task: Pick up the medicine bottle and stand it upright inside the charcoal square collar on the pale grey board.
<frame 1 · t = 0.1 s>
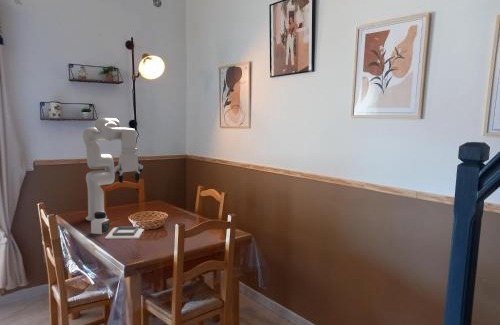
hand: (129, 181, 191), 31 cm above the table, tool pointing down, fingers open, 9 cm apart
medicine bottle: (100, 232, 199), on the table
holder board: (125, 233, 197), on the table
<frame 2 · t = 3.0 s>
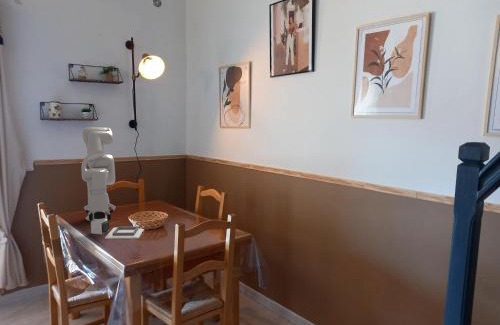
hand: (100, 220, 197), 7 cm above the table, tool pointing down, fingers open, 9 cm apart
medicine bottle: (100, 232, 199), on the table, touching gripper
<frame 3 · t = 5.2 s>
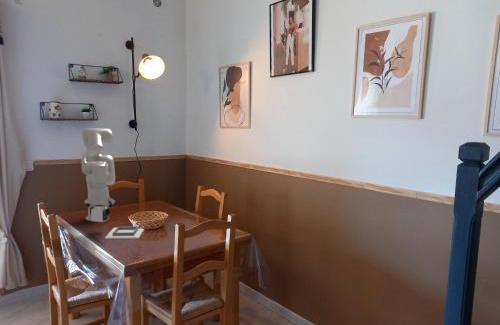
hand: (99, 214, 198), 10 cm above the table, tool pointing down, fingers closed on medicine bottle, 8 cm apart
medicine bottle: (100, 220, 199), point 7 cm above the table, touching gripper
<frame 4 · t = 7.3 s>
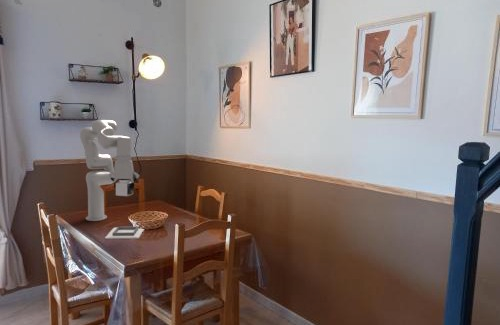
hand: (124, 189, 194), 26 cm above the table, tool pointing down, fingers closed on medicine bottle, 8 cm apart
medicine bottle: (124, 195, 195), point 23 cm above the table, touching gripper
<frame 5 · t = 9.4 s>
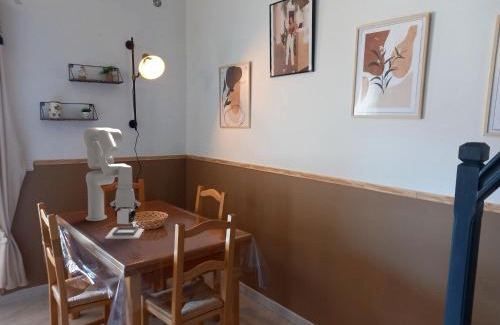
hand: (125, 216, 196), 10 cm above the table, tool pointing down, fingers closed on medicine bottle, 8 cm apart
medicine bottle: (125, 223, 197), point 6 cm above the table, touching gripper
when the fingers open (5 cm above the table, at t = 11.0 s): medicine bottle drops 1 cm, resting on holder board.
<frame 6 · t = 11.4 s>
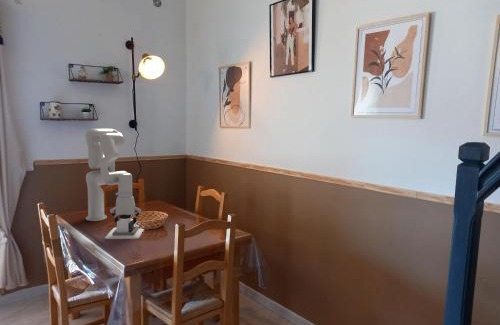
hand: (125, 223, 197), 6 cm above the table, tool pointing down, fingers open, 9 cm apart
medicine bottle: (125, 232, 197), point 1 cm above the table, touching holder board
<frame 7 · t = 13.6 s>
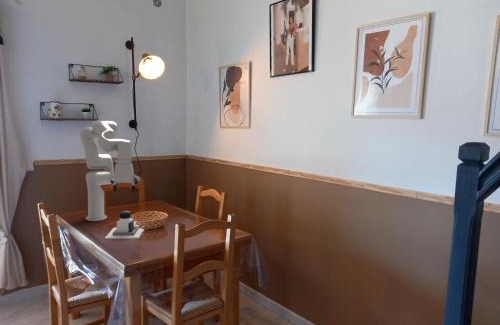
hand: (124, 191, 195), 24 cm above the table, tool pointing down, fingers open, 9 cm apart
nothing on the table moved.
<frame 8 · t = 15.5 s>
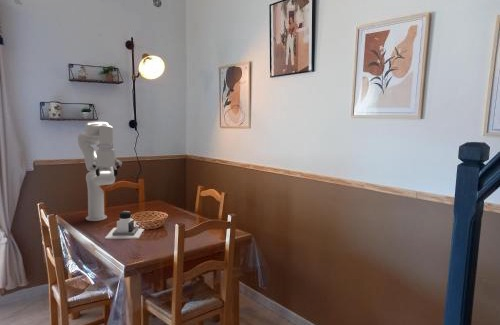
hand: (106, 176, 199), 32 cm above the table, tool pointing down, fingers open, 9 cm apart
nothing on the table moved.
at the end: medicine bottle 0.3 cm off-centre on the holder board, point 0.6 cm above the holder board's base; medicine bottle tilted 0°; the gripper is holding nothing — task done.
